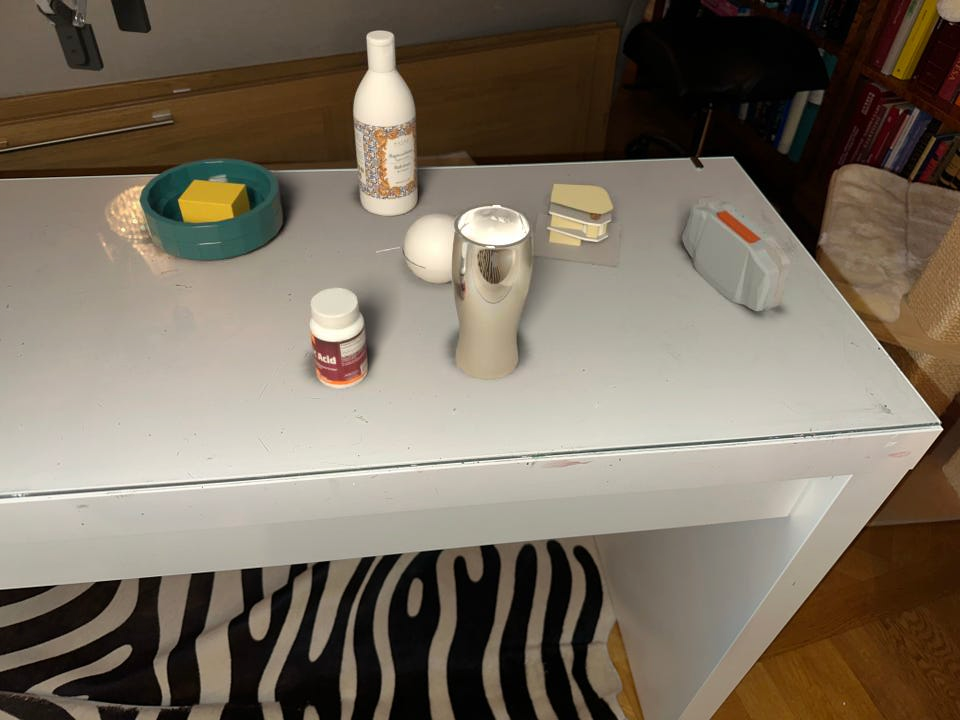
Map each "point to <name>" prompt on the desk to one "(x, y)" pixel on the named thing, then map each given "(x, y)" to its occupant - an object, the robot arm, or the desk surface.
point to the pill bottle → (338, 338)
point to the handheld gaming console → (736, 255)
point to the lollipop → (430, 247)
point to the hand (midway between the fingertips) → (112, 49)
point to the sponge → (213, 201)
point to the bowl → (220, 235)
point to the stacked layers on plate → (578, 226)
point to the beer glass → (490, 286)
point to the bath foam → (385, 133)
